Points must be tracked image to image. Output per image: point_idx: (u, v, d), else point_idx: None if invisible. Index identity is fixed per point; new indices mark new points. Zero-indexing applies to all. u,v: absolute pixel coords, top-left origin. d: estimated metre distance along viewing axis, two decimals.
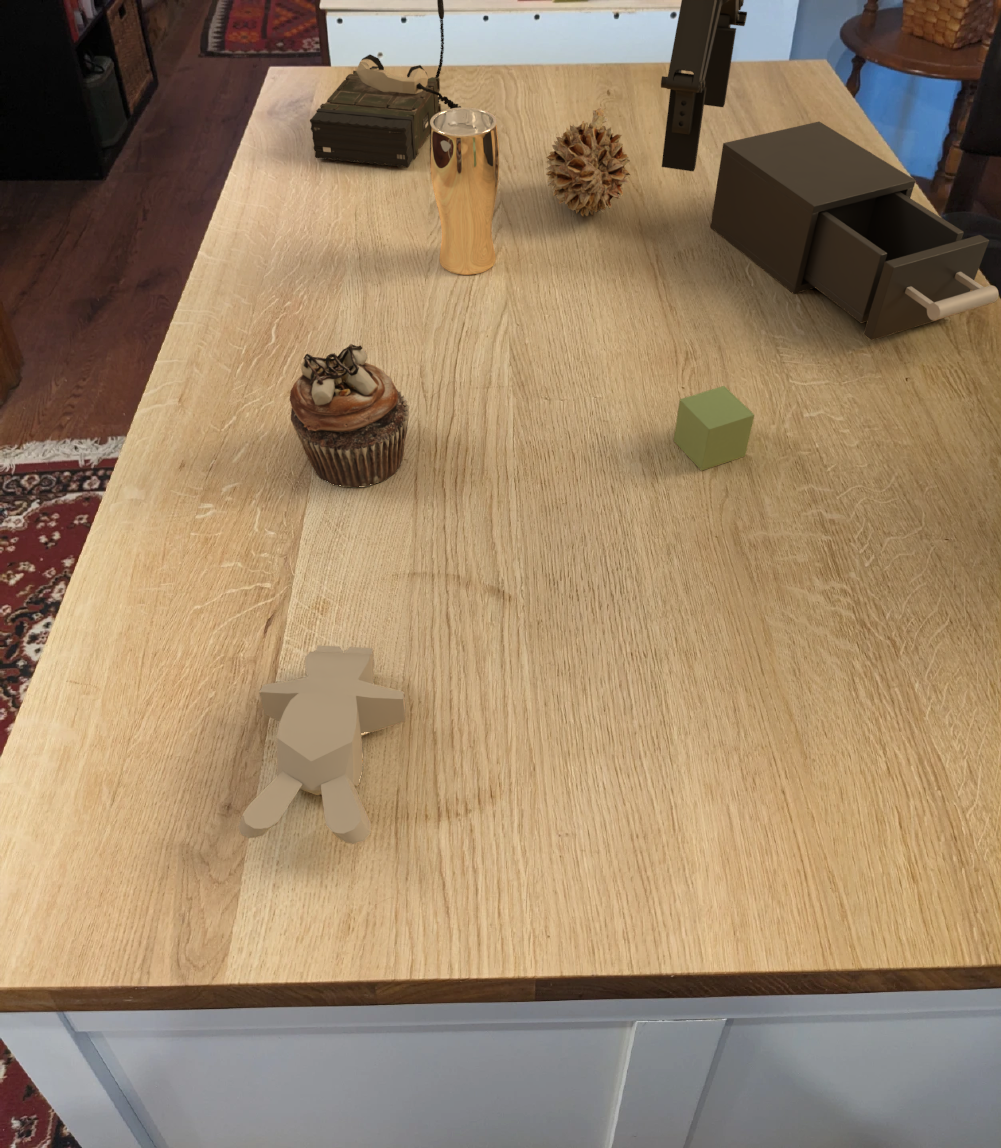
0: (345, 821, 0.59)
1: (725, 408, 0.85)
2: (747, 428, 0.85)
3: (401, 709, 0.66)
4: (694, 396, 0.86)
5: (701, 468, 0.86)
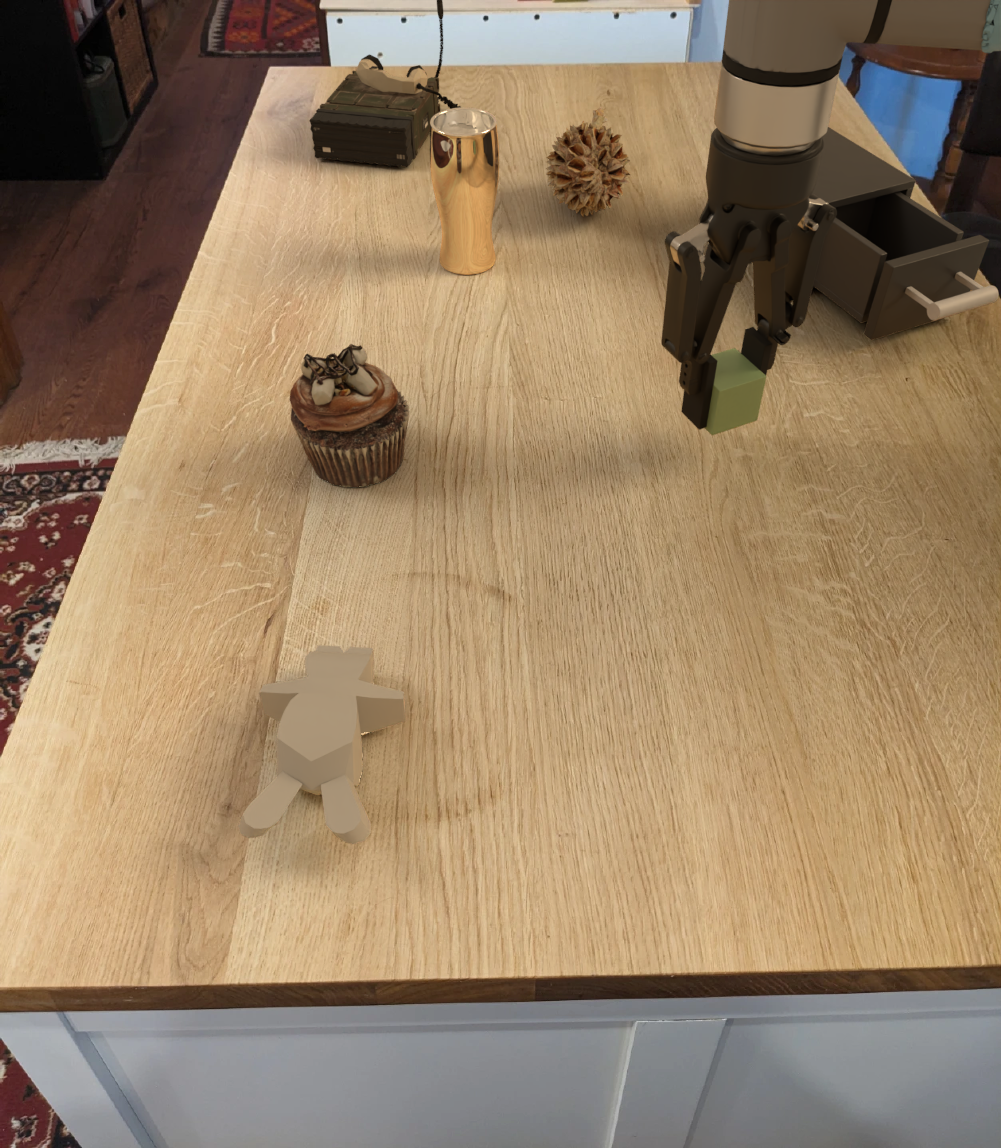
0: (345, 821, 0.59)
1: (736, 370, 0.82)
2: (759, 390, 0.82)
3: (401, 709, 0.66)
4: None
5: (712, 433, 0.83)
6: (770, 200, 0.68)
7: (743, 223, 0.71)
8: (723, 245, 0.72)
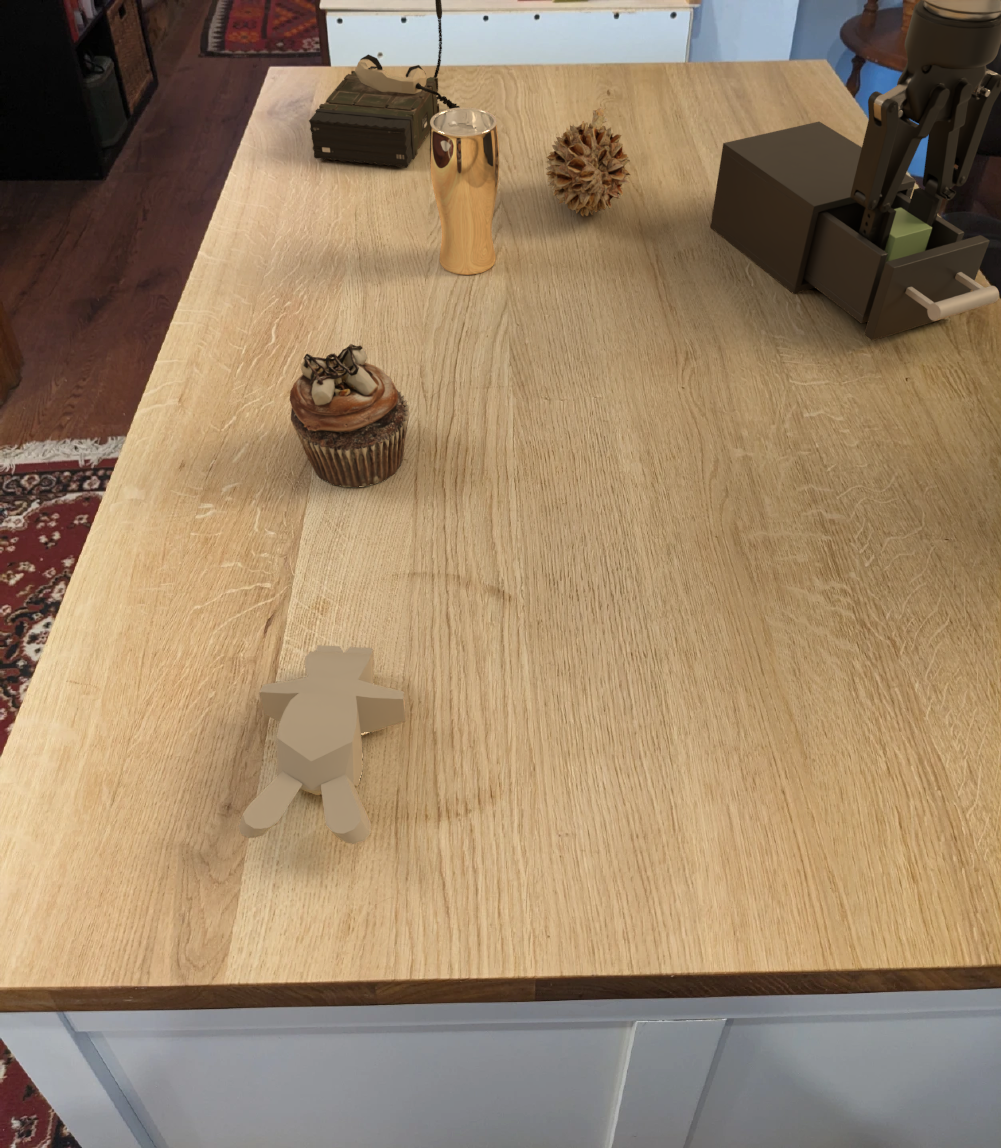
0: (345, 821, 0.59)
1: (906, 223, 0.97)
2: (924, 241, 0.98)
3: (401, 709, 0.66)
4: None
5: None
6: (965, 60, 0.83)
7: (935, 84, 0.87)
8: (917, 103, 0.87)
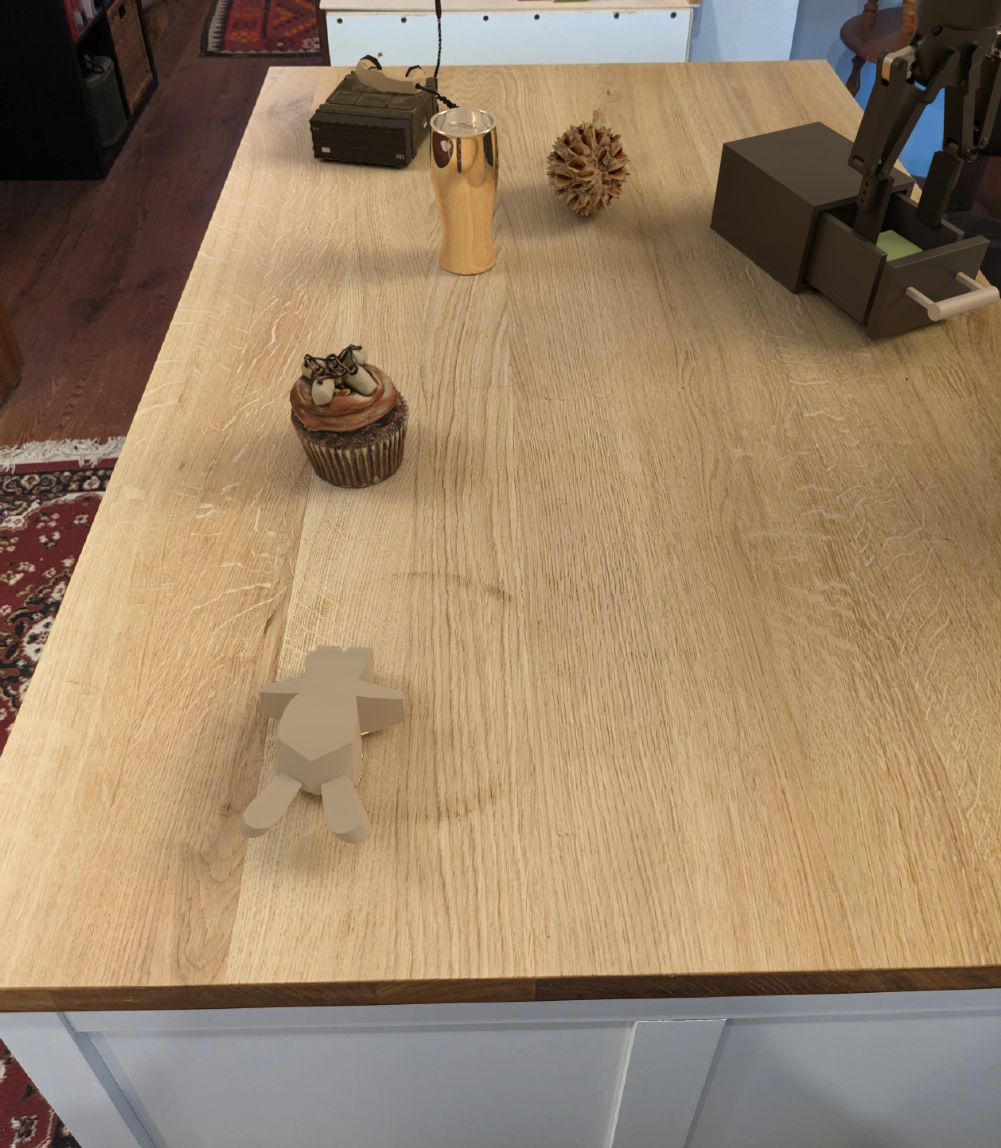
0: (345, 821, 0.59)
1: (897, 246, 0.99)
2: None
3: (401, 709, 0.66)
4: None
5: None
6: (977, 21, 0.81)
7: (947, 46, 0.84)
8: (926, 67, 0.85)
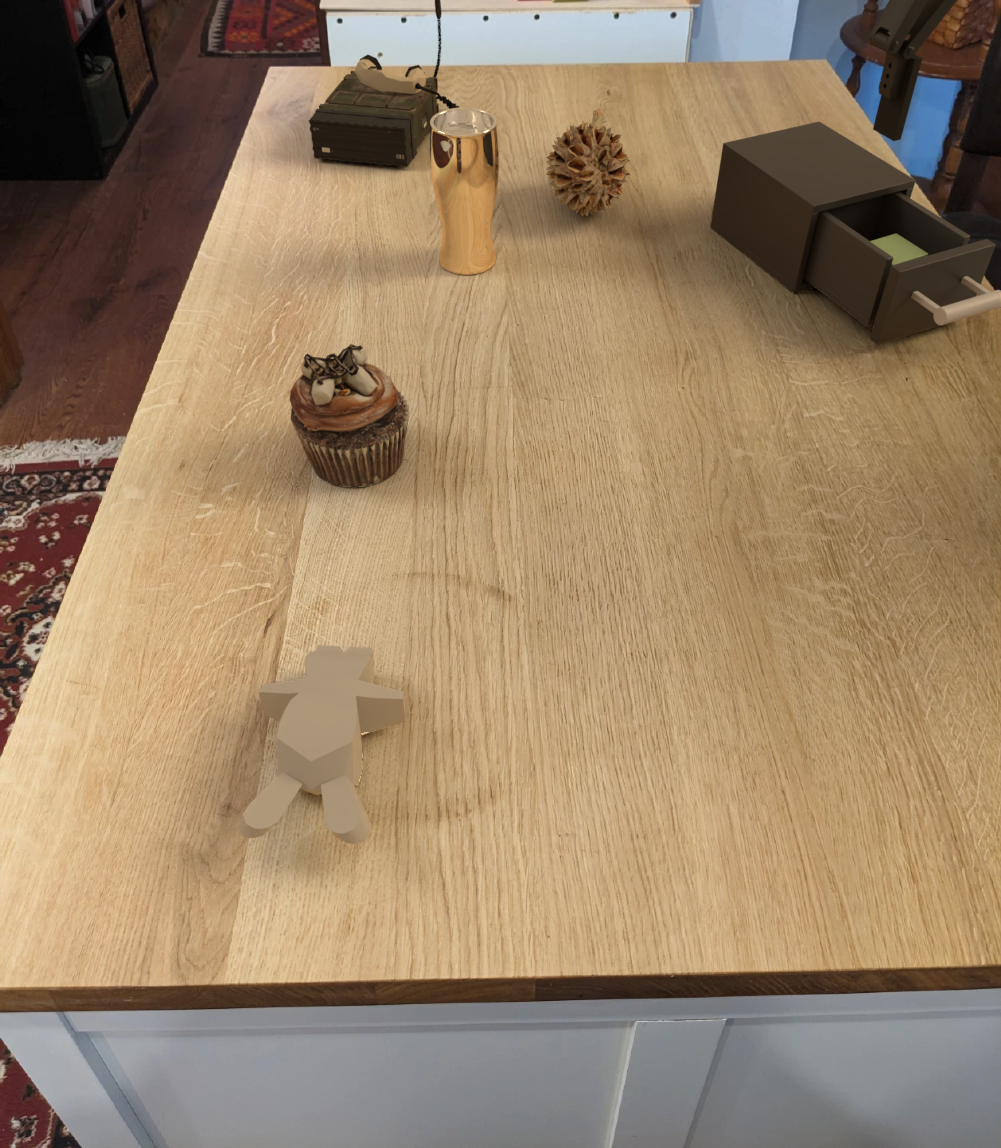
0: (345, 821, 0.59)
1: (902, 249, 0.99)
2: None
3: (401, 709, 0.66)
4: (872, 241, 1.00)
5: None
6: None
7: None
8: None
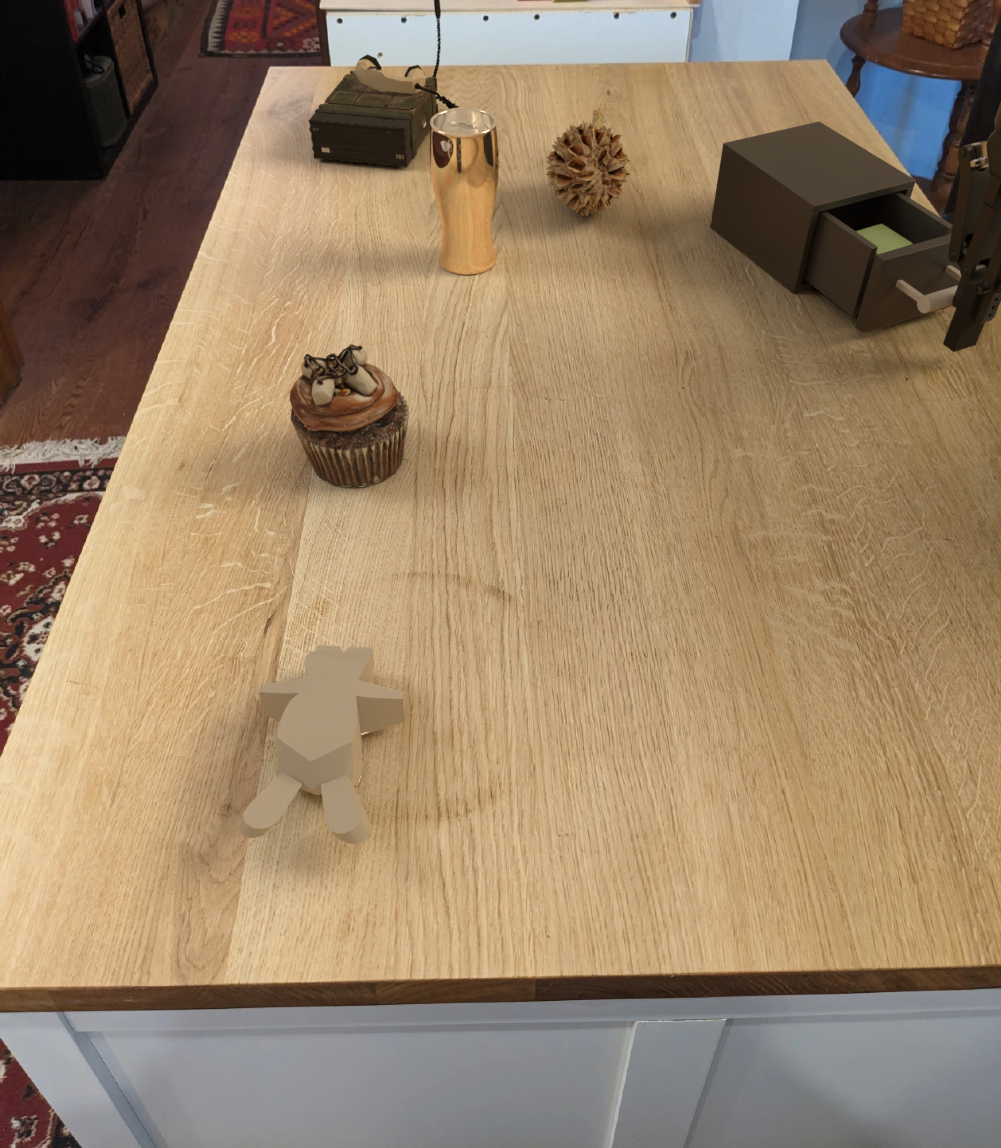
0: (345, 821, 0.59)
1: (887, 239, 1.00)
2: None
3: (401, 709, 0.66)
4: (858, 231, 1.01)
5: None
6: (998, 123, 0.80)
7: None
8: (988, 159, 0.85)
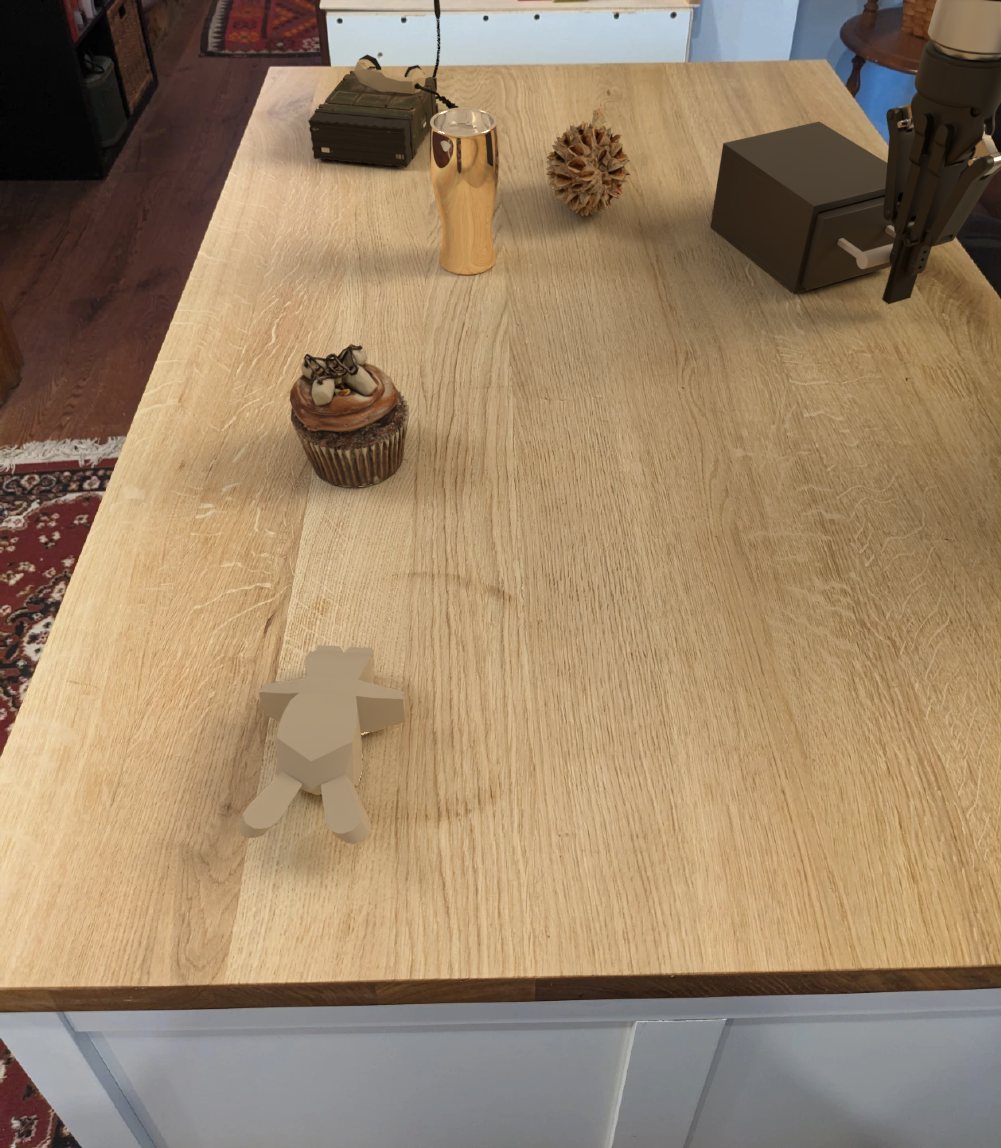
0: (345, 821, 0.59)
1: None
2: None
3: (401, 709, 0.66)
4: None
5: None
6: (917, 82, 0.86)
7: (926, 110, 0.89)
8: (913, 118, 0.91)
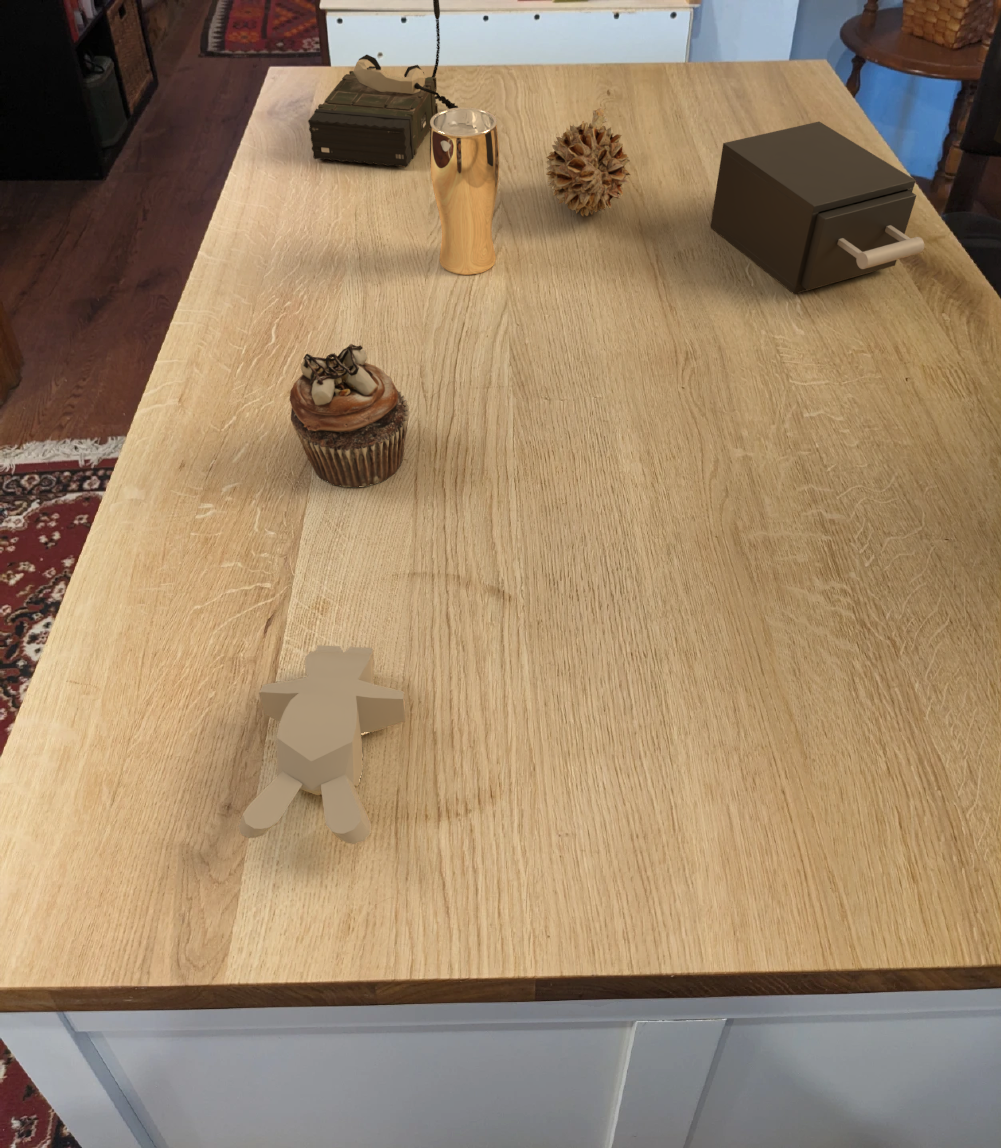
0: (345, 821, 0.59)
1: None
2: None
3: (401, 709, 0.66)
4: None
5: None
6: None
7: None
8: None
